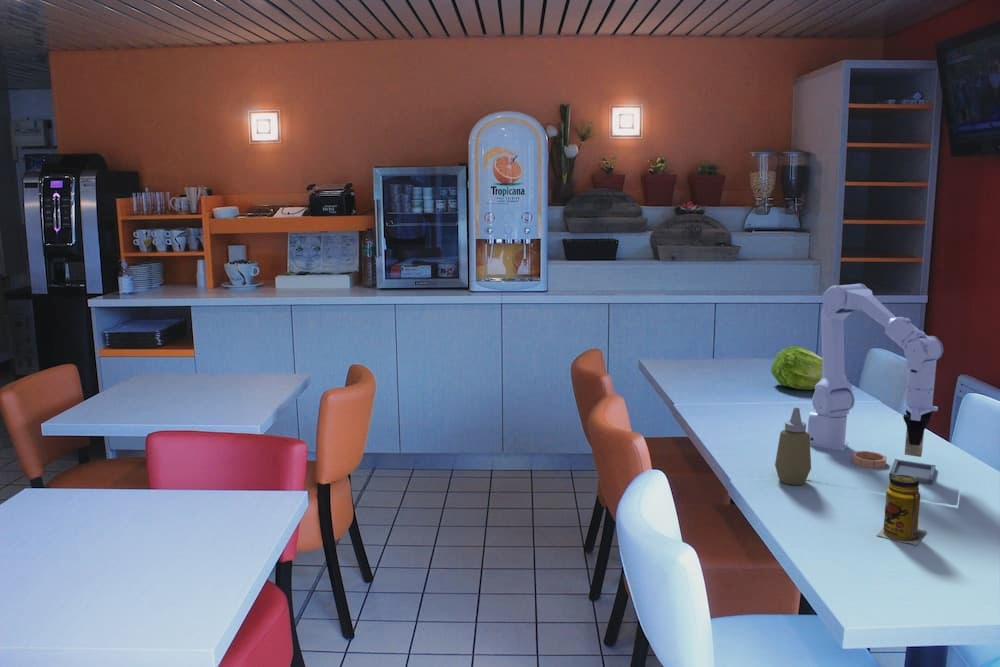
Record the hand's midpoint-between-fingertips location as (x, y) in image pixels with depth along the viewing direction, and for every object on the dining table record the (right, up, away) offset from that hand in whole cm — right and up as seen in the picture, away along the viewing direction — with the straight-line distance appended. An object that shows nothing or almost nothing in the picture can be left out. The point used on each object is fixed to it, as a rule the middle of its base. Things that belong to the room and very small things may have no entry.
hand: (915, 442), depth 191 cm
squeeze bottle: (-30, -9, -2) cm, 32 cm away
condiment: (-19, -14, -31) cm, 39 cm away
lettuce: (+8, +7, +87) cm, 87 cm away
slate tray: (0, -8, +2) cm, 8 cm away
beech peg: (0, -3, +1) cm, 3 cm away
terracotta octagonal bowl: (-7, -7, +9) cm, 13 cm away
